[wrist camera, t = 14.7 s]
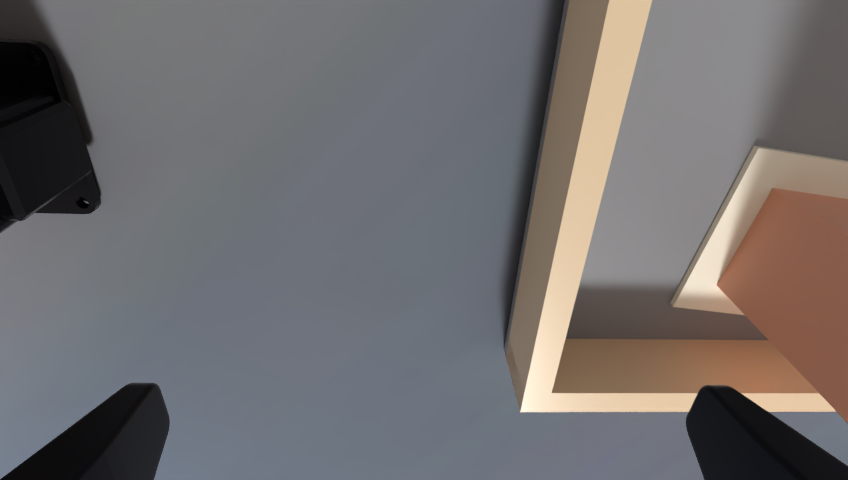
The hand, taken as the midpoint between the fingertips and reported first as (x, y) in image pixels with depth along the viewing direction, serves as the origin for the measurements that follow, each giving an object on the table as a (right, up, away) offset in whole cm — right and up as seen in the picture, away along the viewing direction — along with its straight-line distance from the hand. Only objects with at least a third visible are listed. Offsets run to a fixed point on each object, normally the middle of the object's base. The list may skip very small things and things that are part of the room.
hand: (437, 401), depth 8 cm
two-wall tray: (+13, +5, +13) cm, 19 cm away
